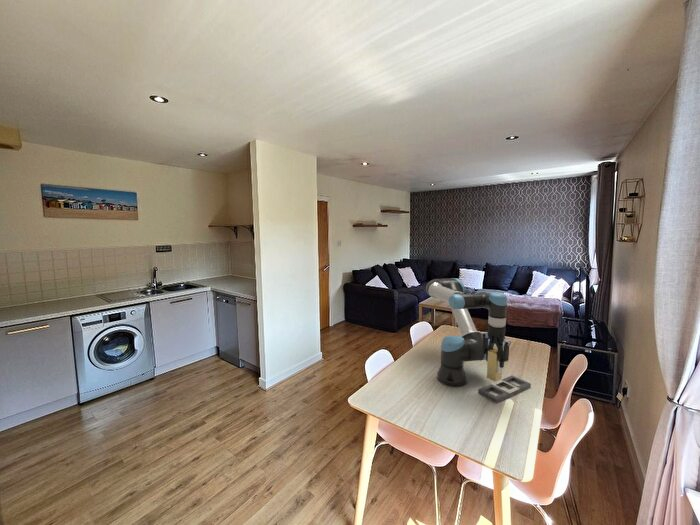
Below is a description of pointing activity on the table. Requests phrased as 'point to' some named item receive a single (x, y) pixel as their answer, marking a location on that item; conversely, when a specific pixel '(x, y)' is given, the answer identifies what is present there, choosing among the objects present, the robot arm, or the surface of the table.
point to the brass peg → (493, 365)
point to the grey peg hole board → (502, 392)
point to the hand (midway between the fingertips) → (494, 370)
